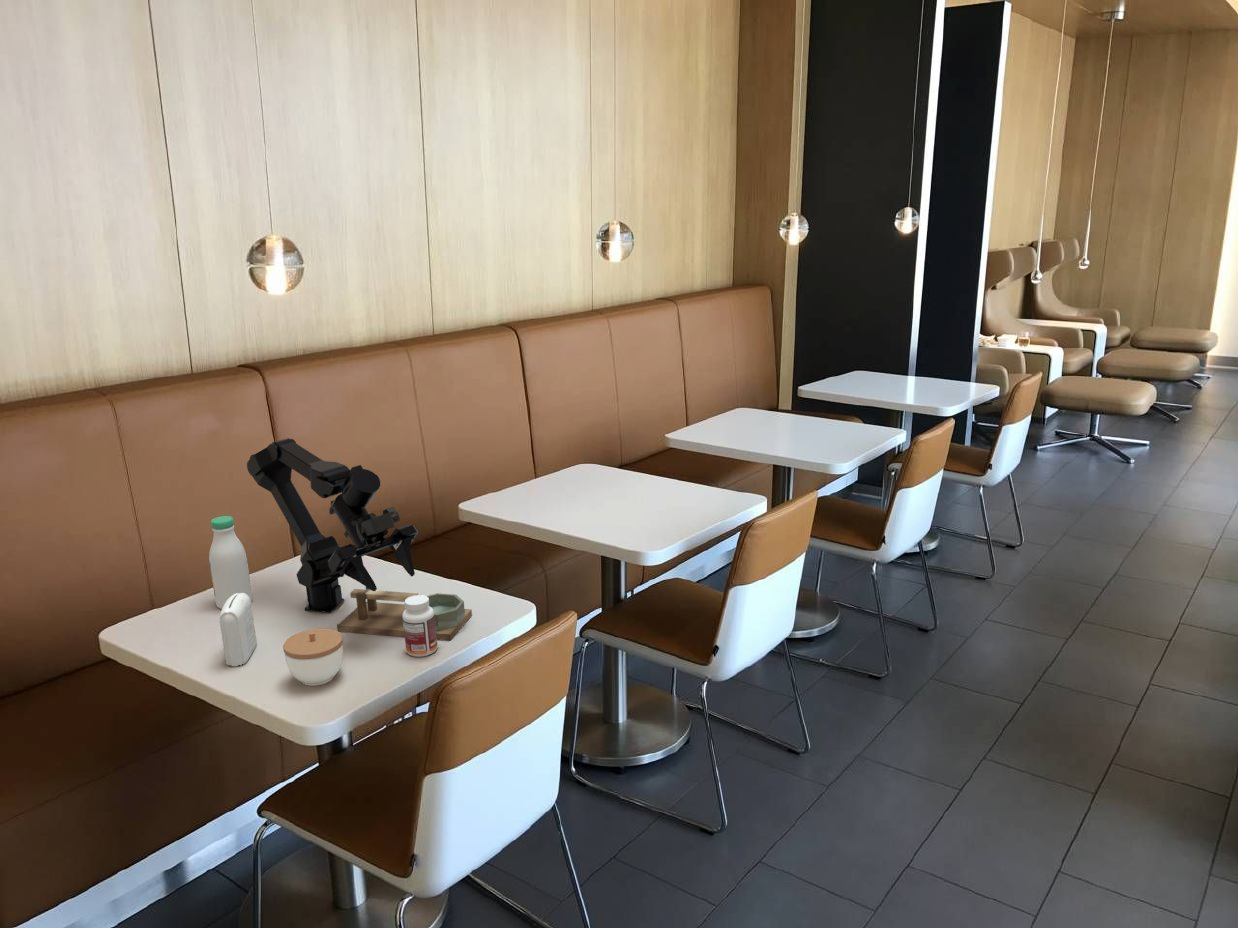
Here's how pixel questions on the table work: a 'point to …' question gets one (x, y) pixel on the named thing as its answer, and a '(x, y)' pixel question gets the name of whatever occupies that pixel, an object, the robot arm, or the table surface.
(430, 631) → the pill bottle
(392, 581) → the table surface
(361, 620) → the catapult base
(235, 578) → the milk bottle
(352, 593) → the catapult arm
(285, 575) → the table surface
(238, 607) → the photo printer
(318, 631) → the lidded jar
